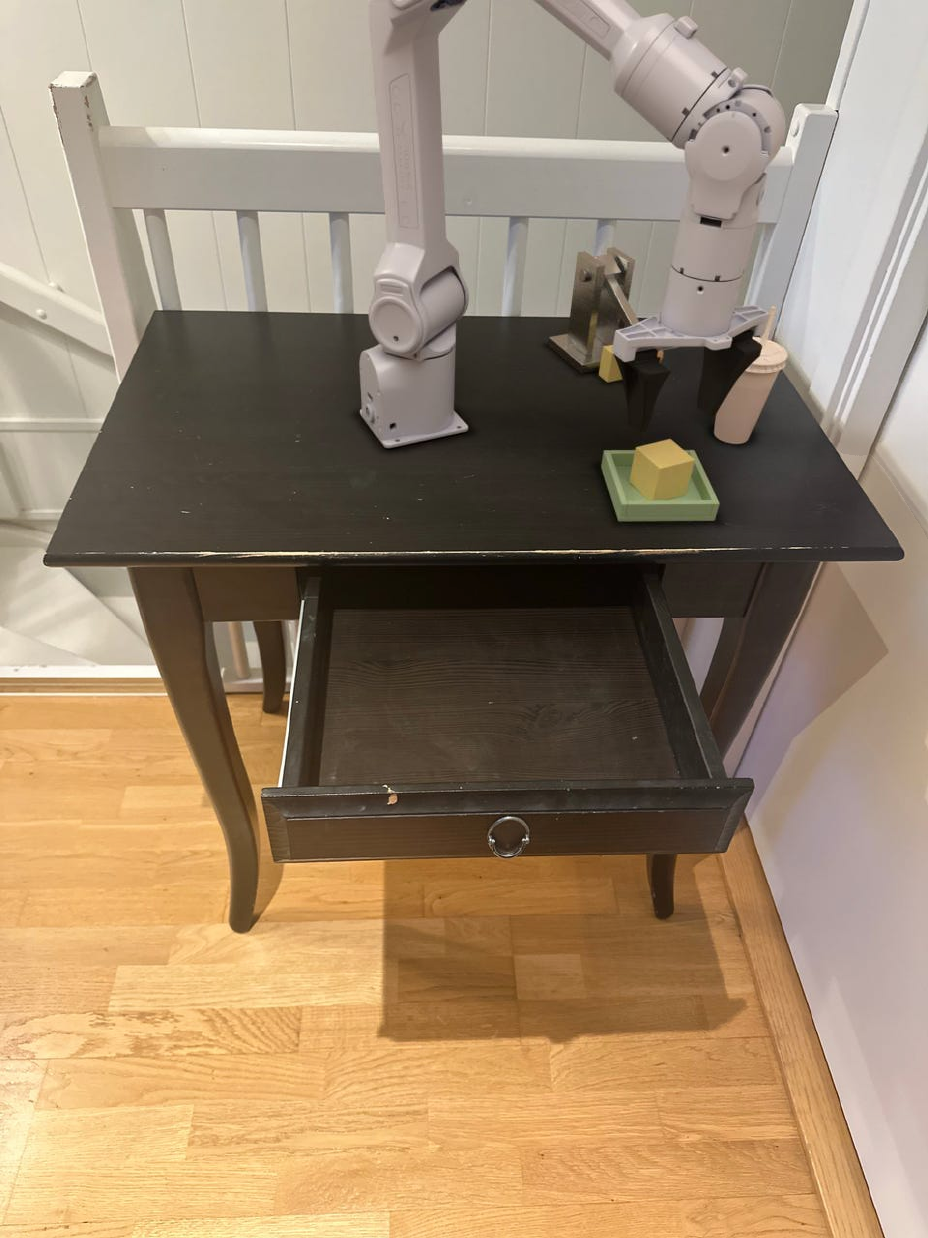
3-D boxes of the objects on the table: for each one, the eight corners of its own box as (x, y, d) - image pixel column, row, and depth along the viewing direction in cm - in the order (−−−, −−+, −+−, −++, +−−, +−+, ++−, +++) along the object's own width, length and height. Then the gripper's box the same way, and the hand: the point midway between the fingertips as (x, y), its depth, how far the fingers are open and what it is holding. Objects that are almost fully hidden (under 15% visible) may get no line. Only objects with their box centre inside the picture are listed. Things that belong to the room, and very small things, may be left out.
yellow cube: (651, 504, 79) (660, 468, 77) (628, 482, 82) (635, 446, 79) (686, 495, 81) (695, 459, 78) (662, 473, 83) (670, 438, 81)
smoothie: (763, 454, 87) (805, 324, 78) (701, 445, 88) (734, 316, 79) (760, 423, 92) (799, 297, 82) (700, 416, 93) (732, 290, 83)
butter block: (638, 376, 99) (644, 347, 97) (607, 382, 98) (612, 353, 95) (629, 368, 101) (634, 340, 98) (598, 375, 99) (602, 346, 97)
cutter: (637, 362, 102) (655, 263, 94) (581, 374, 99) (595, 273, 91) (602, 335, 107) (616, 239, 99) (547, 345, 104) (558, 248, 96)
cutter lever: (660, 371, 94) (672, 353, 92) (638, 376, 93) (649, 358, 91) (605, 270, 99) (614, 250, 96) (583, 274, 98) (592, 254, 95)
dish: (618, 521, 78) (621, 503, 77) (600, 467, 85) (603, 449, 83) (714, 520, 79) (720, 503, 77) (690, 466, 85) (694, 449, 84)
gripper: (661, 300, 62) (629, 458, 71) (811, 274, 67) (763, 425, 76) (609, 265, 66) (586, 418, 76) (753, 244, 71) (715, 390, 81)
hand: (671, 419), depth 76 cm, fingers open, 7 cm apart
